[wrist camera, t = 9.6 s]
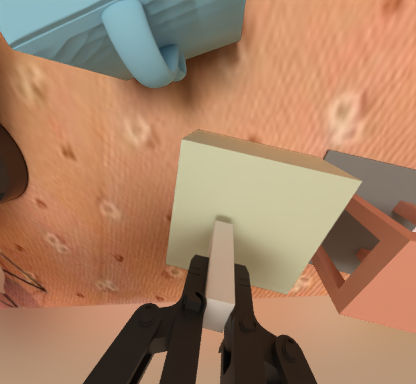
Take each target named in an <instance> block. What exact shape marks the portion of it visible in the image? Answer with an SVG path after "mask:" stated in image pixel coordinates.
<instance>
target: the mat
mask: <svg viewBox="0 0 416 384" xmlns="http://www.w3.org/2000/svg"><path fill="white" fill-rule="evenodd" d="M323 160H325V161H327V162H329V163H330V164H332V165H334V166H336V167H338V168H339V169H341V170H343V171H345V172H347V173H348V174H350V175H352V176H354V177H356V178H357V179H359V180H361V181H362V183H361V184H360V186H359V187H358V189H357V190H356V192H355V194H357V195H358V196H360V197H361V198H363V199H364V200H366V201H367V202H369V203H370V204H371V205H373V206H374V207H376V208H377V209H379V210H380V211H382V212H383V213H385V214H386V215H388V216H389V217H390V218H392V219H393V220H395V221H396V222H398V223H399V224H401V225H402V226H404V227H405V228H407V229H408V230H409V231H412V230H413V229H414V228H415V227H416V225H414V224H413V223H411V222H410V221H408V220H407V219H405V218H403V217H402V216H400V215H399V214H397V213H396V212H394V211H392V210H393V209H394V207H395V206H396V205H397V204H398V203H399V201H400V200H401V201H405V202H409V203H413V204H415V205H416V170H415V169H410V168H406V167H402V166H397V165H393V164H389V163H384V162H380V161H376V160H371V159H367V158H363V157H358V156H354V155H350V154H345V153H341V152H337V151H332V150H328V151H327V153H326V155H325V156H324V158H323ZM379 242H380V240H379V239H378V238H377V237H375V236H374V235H373V234H372V233H371V232H370V231H369V230H368V229H366V228H365V227H364V226H363V225H362V224H361V223H360V222H359V221H357V220H356V219H355V218H354V217H353V216H352V215H351V214H350V213H348V212H347V211H346V210H345V209H344V210H343V211H342V213H341V214H340V216H339V217H338V219H337V220H336V222H335V223H334V225H333V226H332V228H331V229H330V231H329V232H328V234H327V236H326V237H325V239H324V240H323V242H322V243H321V245H322V247H323V248H324V250H325V251H326V253H327V254H328V256H329V257H330V259H331V260H332V262H333V263H334V265H335V266H336V268H337V269H338V271H341V272H345V273H349V274H352V273H353V272H354V271H355V269H356V268H357V267H358V266H359V265H360V264H361V262H360V260H359V259H358V258H357V257H356V256H355V255H356V254H357V253H358V251H359V250H360V249H361V248H363V249H367V250H371V251H372V250H373V249H374V247H375V246H376V245H377V244H378V243H379ZM309 264H313V263H312V261H311V260H310V261H309Z"/></svg>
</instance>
